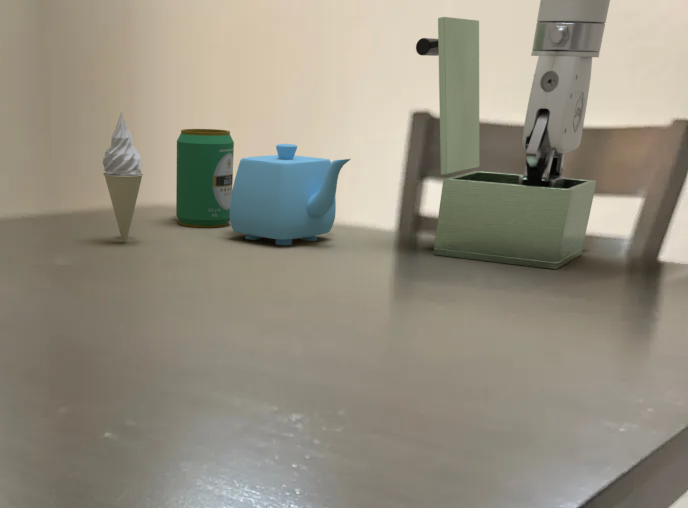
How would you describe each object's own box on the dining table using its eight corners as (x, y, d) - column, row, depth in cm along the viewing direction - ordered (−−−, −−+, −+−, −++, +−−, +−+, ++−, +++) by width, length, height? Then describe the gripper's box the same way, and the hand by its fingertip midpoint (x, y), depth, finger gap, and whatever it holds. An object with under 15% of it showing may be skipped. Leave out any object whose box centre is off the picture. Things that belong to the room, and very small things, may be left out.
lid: (479, 20, 121) (440, 28, 124) (444, 16, 112) (403, 25, 114) (479, 166, 128) (442, 170, 131) (446, 174, 119) (408, 178, 121)
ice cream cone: (128, 238, 129) (126, 110, 121) (151, 243, 126) (150, 112, 118) (97, 241, 126) (93, 110, 119) (119, 247, 123) (116, 112, 115)
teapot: (313, 255, 122) (320, 153, 116) (209, 236, 132) (211, 141, 126) (370, 244, 129) (380, 148, 123) (268, 227, 140) (272, 137, 134)
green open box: (581, 254, 126) (596, 180, 122) (556, 269, 117) (571, 189, 113) (465, 241, 133) (476, 170, 129) (432, 254, 124) (443, 178, 119)
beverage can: (212, 229, 137) (215, 134, 130) (165, 224, 140) (165, 130, 134) (241, 223, 142) (244, 131, 136) (195, 217, 146) (196, 127, 140)
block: (557, 214, 122) (564, 176, 120) (548, 218, 119) (555, 179, 117) (522, 211, 124) (529, 173, 122) (512, 215, 121) (519, 176, 118)
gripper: (582, 41, 104) (548, 225, 113) (616, 44, 116) (582, 209, 126) (513, 40, 107) (485, 218, 117) (553, 42, 120) (525, 204, 129)
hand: (536, 212), depth 121 cm, fingers closed on block, 4 cm apart
